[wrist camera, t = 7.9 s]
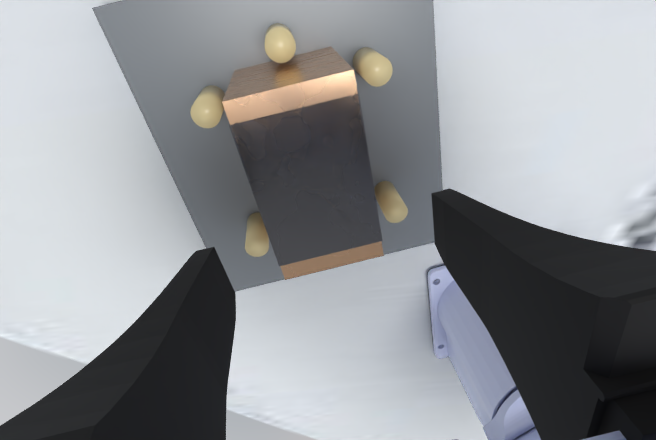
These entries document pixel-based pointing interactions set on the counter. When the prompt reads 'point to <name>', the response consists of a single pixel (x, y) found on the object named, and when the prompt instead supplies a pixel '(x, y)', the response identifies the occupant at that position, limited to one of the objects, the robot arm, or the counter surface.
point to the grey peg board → (280, 46)
